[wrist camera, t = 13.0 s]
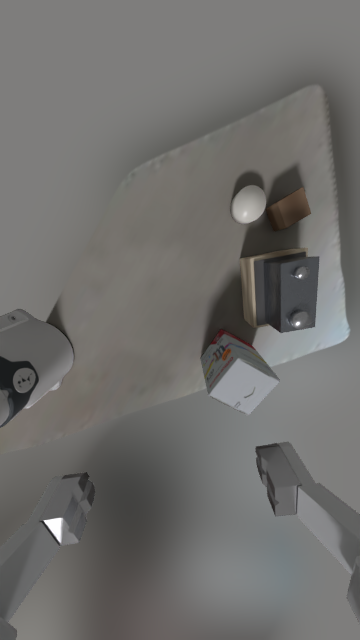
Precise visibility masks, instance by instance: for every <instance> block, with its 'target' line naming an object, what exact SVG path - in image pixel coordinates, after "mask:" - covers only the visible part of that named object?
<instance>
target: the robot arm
mask: <svg viewBox="0 0 360 640" xmlns="http://www.w3.org/2000/svg"><path fill="white" fill-rule="evenodd" d="M14 317H15V318H16V319H15V318H14ZM73 360H74V354H73V349H72V347H71V344H70V342H69V341H68V339H67V338H66V337H65V335H64V334H63V333H62V332H61V331H59V330H58V329H57V328H55V327H54V326H52V325H50V324H48V323H46V322H43V321H40V320H37V319H36V318H34V317H33V316H31V315H30V314H29V313H27V312H26V311H24V310H22V309H18V310H15V311H13V312H10V313H8V314H5V315H3V316H1V317H0V428H1V427H3V426H4V425H6V424H7V423H8V422H9V421H10V420H12V419H13V418H15V417H16V416H17V415H18V414H19V413H20V411H21V410H22V409H23V408H29V407H31V406H32V405H33V404H35V403H36V402H37V401H38V400H39V399H40V398H41V397H43V396H44V395H45V394H46V393H47V392H48V391H49V390H56V389H57V388H58V387H60V385H61V383H62V379H63V377H64V376H65V375H66V374H67V373H68V371H69V370H70V369H71V367H72V364H73ZM255 449H256V454H257V458H256V463H257V468H258V472H259V475H260V478H261V480H262V483H263V484H264V485H265V486H266V487H267V495H268V499H269V501H270V504H271V506H272V509H273V511H274V514H275V516H285V515H295V514H297V517H298V518H299V519H300V520H301V521H302V522H303V523H304V524H305V525H306V526H307V527H308V528H309V530H310V531H311V532H312V533H313V534H314V535H315V536H316V537H317V538H318V539H319V541H320V542H321V543H322V544H323V545H324V546H325V547H326V548H327V549H328V550H329V551H330V552H331V554H332V555H333V556H334V557H335V558H336V559H337V560H338V561H339V562H340V563H341V565H342V566H343V567H344V568H345V569H346V570H347V571H348V572H349V573H350V574H351V575H352V576H351V580H350V584H349V588H348V594H347V599H348V601H349V604H350V606H351V608H352V610H353V612H354V614H355V616H356V618H357V620H358V622H359V624H360V514H359V513H357V512H356V511H355V510H353V509H352V508H351V507H350V506H348V505H347V504H346V503H344V502H343V501H342V500H340V499H339V498H338V497H337V496H335V495H334V494H333V493H332V492H330V491H329V490H328V489H326V488H325V487H324V486H323V485H321V484H320V483H315V481H314V480H313V478H312V477H311V475H310V473H309V472H308V470H307V469H306V467H305V466H304V464H303V462H302V461H301V459H300V457H299V456H298V454H297V453H296V451H295V449H294V448H293V446H292V445H291V444H290V443H289V442H283V443H275V444H269V445H263V446H257V447H256V448H255ZM88 479H89V475H88V473H87V472H84V473H77V474H70V475H62V476H56V477H54V478H53V479H52V480H51V481H50V483H49V485H48V487H47V488H46V490H45V492H44V493H43V495H42V497H41V499H40V500H39V502H38V504H37V506H36V507H35V509H34V511H33V513H32V514H31V516H30V518H29V520H28V522H27V523H26V524H23V525H22V526H21V527H20V528H19V529H18V530H17V531H16V532H15V533H14V534H13V535H12V536H11V537H10V538H9V539H8V540H7V541H6V542H5V543H4V544H3V545H2V546H1V547H0V640H16V637H17V630H16V629H15V628H14V627H13V626H11V625H10V624H9V623H8V622H9V620H10V619H11V617H12V616H13V615H14V613H15V612H16V610H17V609H18V607H19V606H20V604H21V603H22V602H23V600H24V599H25V597H26V596H27V594H28V593H29V591H30V590H31V588H32V587H33V586H34V584H35V583H36V581H37V580H38V579H39V577H40V576H41V574H42V573H43V571H44V570H45V568H46V567H47V566H48V564H49V563H50V561H51V560H52V558H53V557H54V555H55V554H56V553H57V551H58V550H59V548H60V546H62V545H68V544H73V543H79V541H80V539H81V536H82V533H83V531H84V528H85V525H86V522H87V519H86V514H87V512H88V511H89V510H90V509H91V507H92V504H93V501H94V496H95V487H94V484H93V482H91V481H89V480H88Z"/></svg>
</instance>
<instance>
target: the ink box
mask: <svg viewBox="0 0 360 640" xmlns="http://www.w3.org/2000/svg"><path fill="white" fill-rule="evenodd" d="M201 364H202V368H203V373H204V377H205V382H206V386H207V391H208V396H210V397H212V398H213V399H215V400H217V401H219V402H221V403H223V404H225V405H227V406H229V407H231V408H233V409H235V410H237V411H239V412H242V413H244V414H246V415H249V414H250V413H251V412H252V411H253V410H254V409H255V408H256V406H257V405H258V404H259V403H260V402H261V401H262V400H263V399H264V398H265V397H266V396H267V395H268V394H269V393H270V391H271V390H272V389H273V388H274V387H275V386H276V385H277V384H278V383H279V382H280V380H279V378H278V377H277V375H276V374H275V373H274V372H273V371H272V370H271V368H270V367H269V366H268V364H267V363H266V362H265V361H264V359H263V358H262V357H261V356H260V355H259V353H258V352H257V351H256V350H255V349H254V347H253V346H252V345H250V344H248V343H247V342H245V341H243V340H241V339H240V338H238V337H236V336H234V335H232V334H230V333H229V332H227V331H225V330H222V329H220V331H219V332H218V334H217V335H216V337H215V338H214V340H213V341H212V343H211V344H210V345H209V347H208V348H207V350H206V351H205V353H204V354H203V356H202V357H201Z"/></svg>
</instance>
